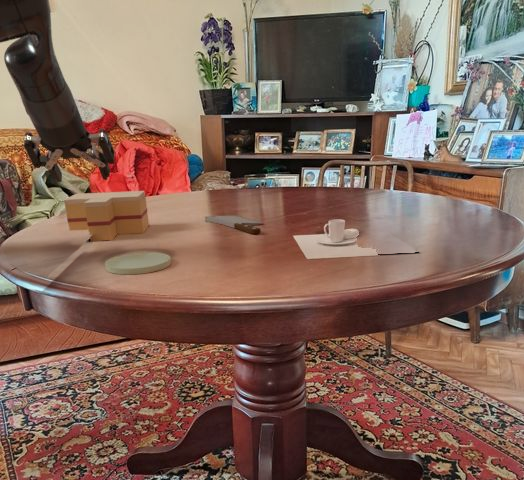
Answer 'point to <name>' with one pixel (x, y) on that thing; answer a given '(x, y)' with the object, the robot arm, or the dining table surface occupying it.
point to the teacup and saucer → (333, 243)
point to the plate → (138, 263)
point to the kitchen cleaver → (236, 223)
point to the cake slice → (100, 219)
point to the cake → (124, 205)
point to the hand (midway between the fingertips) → (82, 177)
